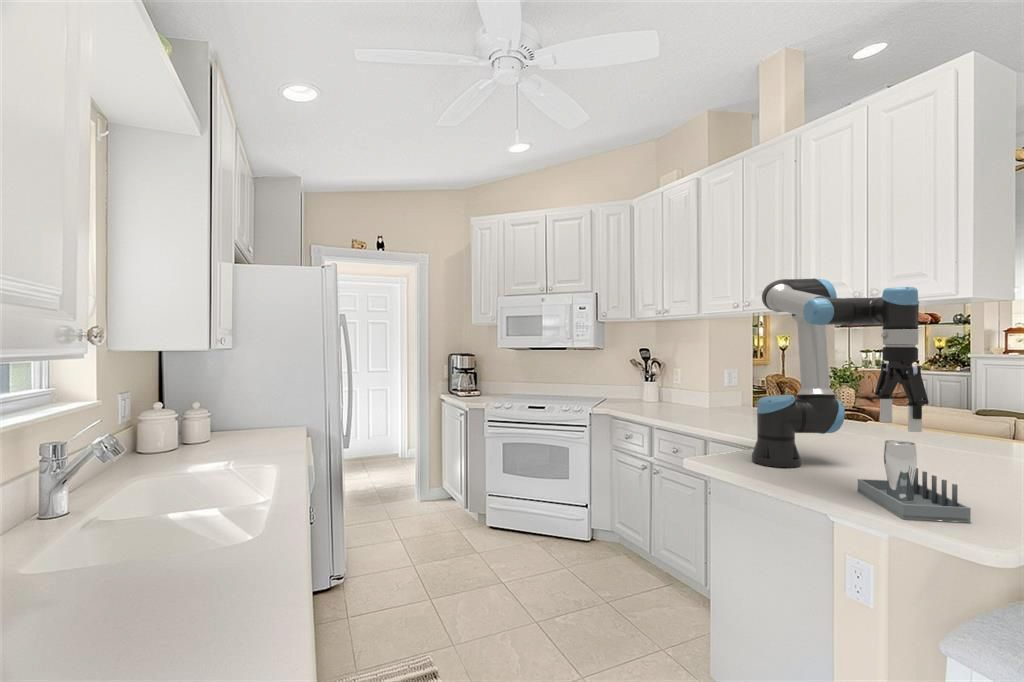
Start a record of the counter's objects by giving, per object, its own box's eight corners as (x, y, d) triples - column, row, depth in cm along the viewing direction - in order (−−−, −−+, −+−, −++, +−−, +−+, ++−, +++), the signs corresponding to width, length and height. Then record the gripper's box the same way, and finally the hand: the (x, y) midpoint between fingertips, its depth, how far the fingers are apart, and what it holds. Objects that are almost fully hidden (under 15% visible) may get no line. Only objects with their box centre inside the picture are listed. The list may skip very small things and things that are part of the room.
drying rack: (857, 491, 146) (857, 463, 146) (913, 493, 143) (913, 465, 143) (903, 519, 123) (903, 486, 123) (970, 523, 121) (970, 488, 121)
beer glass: (922, 504, 131) (922, 445, 131) (891, 502, 133) (891, 444, 133) (907, 496, 138) (907, 440, 138) (878, 494, 139) (878, 439, 139)
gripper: (861, 345, 148) (861, 419, 149) (911, 347, 124) (911, 435, 124) (890, 345, 147) (890, 419, 147) (946, 347, 122) (946, 436, 123)
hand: (899, 427), depth 136 cm, fingers open, 13 cm apart
